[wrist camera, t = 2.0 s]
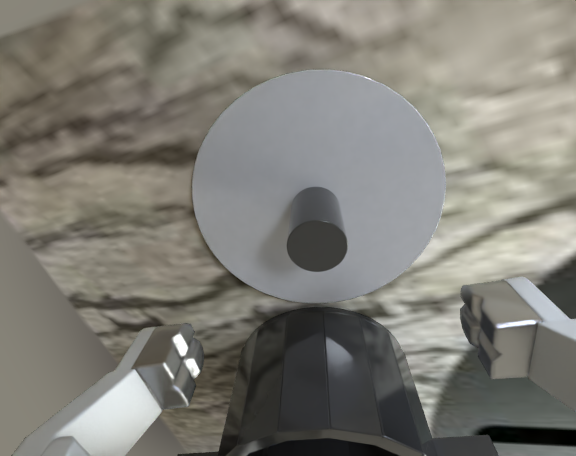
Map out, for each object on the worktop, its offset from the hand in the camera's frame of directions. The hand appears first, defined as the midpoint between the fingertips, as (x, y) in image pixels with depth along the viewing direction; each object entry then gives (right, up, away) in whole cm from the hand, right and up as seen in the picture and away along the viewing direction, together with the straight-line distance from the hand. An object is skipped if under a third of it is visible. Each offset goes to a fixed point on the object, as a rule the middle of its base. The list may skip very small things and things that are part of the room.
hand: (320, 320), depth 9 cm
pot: (+1, -7, +13) cm, 15 cm away
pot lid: (0, +4, +6) cm, 7 cm away
